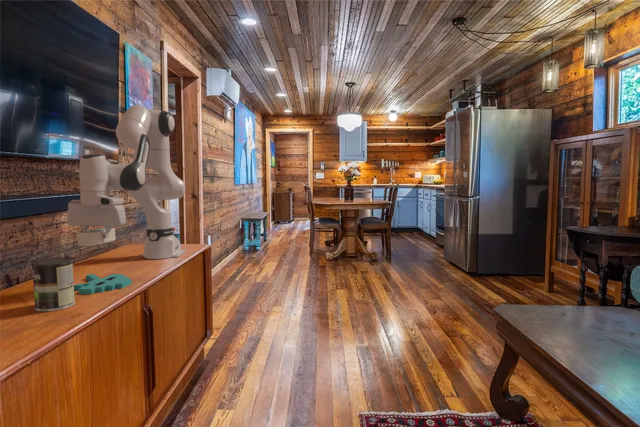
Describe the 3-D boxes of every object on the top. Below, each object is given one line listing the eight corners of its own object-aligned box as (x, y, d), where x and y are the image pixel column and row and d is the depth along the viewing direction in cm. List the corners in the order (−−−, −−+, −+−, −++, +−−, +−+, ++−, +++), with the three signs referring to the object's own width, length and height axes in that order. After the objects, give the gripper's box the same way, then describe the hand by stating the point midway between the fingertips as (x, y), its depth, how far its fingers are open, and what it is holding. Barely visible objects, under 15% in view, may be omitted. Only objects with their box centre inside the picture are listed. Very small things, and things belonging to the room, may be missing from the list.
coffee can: (38, 314, 110) (34, 266, 109) (32, 306, 117) (28, 260, 116) (79, 306, 117) (76, 260, 116) (71, 298, 125) (68, 255, 123)
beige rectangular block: (91, 246, 131) (91, 232, 131) (78, 245, 131) (77, 232, 131) (115, 240, 144) (114, 227, 143) (103, 239, 144) (102, 227, 144)
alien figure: (53, 295, 130) (111, 295, 129) (52, 288, 129) (111, 289, 129) (89, 279, 150) (140, 279, 149) (89, 274, 149) (140, 274, 149)
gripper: (61, 200, 134) (63, 239, 135) (116, 200, 132) (118, 239, 133) (74, 199, 140) (76, 236, 142) (127, 199, 139) (129, 237, 140)
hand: (97, 238), depth 138 cm, fingers closed on beige rectangular block, 5 cm apart
